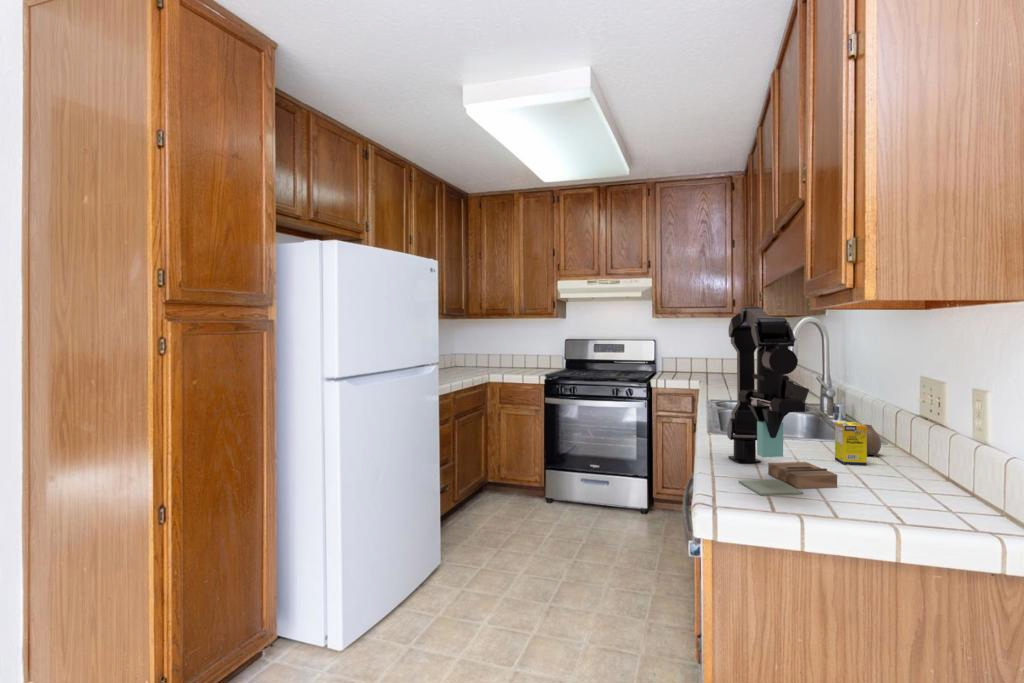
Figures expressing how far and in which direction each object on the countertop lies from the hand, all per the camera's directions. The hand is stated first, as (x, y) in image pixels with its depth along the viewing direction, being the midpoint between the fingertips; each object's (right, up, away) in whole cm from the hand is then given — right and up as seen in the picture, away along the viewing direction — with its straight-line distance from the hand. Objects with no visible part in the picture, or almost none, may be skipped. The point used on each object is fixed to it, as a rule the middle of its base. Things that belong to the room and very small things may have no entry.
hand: (769, 436), depth 123 cm
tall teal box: (0, -5, 0) cm, 4 cm away
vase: (+44, -11, +31) cm, 55 cm away
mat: (0, -12, 0) cm, 12 cm away
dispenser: (+11, -12, +6) cm, 17 cm away
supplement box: (+34, -12, +23) cm, 42 cm away
